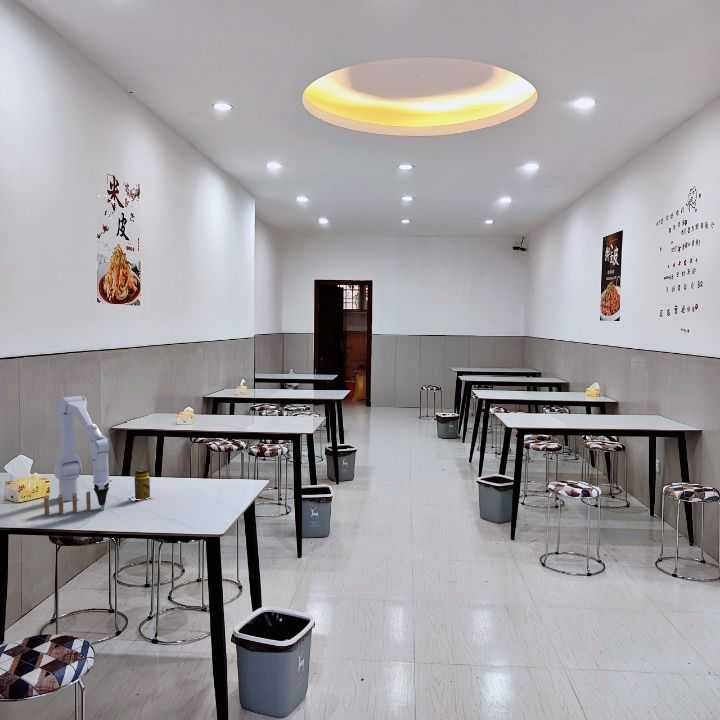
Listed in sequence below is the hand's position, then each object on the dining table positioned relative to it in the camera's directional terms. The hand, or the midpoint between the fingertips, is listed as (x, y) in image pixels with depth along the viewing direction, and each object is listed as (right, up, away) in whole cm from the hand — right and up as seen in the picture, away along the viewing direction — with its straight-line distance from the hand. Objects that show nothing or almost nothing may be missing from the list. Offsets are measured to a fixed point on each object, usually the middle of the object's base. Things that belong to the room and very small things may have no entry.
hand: (102, 503), depth 280 cm
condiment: (+10, -1, +16) cm, 19 cm away
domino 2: (-14, -3, -5) cm, 15 cm away
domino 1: (-19, -3, -7) cm, 20 cm away
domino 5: (0, -2, 0) cm, 2 cm away
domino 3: (-9, -3, -3) cm, 10 cm away
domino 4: (-5, -3, -2) cm, 6 cm away
